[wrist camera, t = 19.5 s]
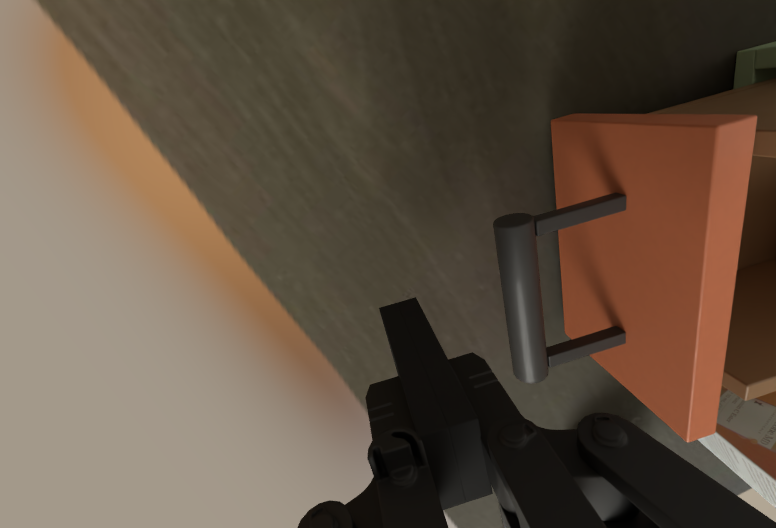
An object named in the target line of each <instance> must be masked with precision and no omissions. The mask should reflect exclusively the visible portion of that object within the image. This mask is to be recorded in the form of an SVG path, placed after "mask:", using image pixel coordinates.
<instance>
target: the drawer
mask: <svg viewBox="0 0 776 528" xmlns="http://www.w3.org/2000/svg"><path fill="white" fill-rule="evenodd" d="M551 134H552V149H553V164H554V179H555V193H556V208H557V210H553V211H550V212H547V213H543V214H540V215H536V216H532V215H530V214H525V213H515V214H508V215H505V216H502V217H499V218H497V219H496V220H495V221H494V223H493V227H494V234H495V241H496V249H497V256H498V263H499V270H500V278H501V285H502V292H503V299H504V307H505V314H506V321H507V328H508V336H509V343H510V350H511V357H512V365H513V372H514V375H515V376H516V378H517V379H519V380H520V381H522V382H525V383H538V382H541V381H543V380H544V379H545V378H546V377H547V375H548V366H549V367H550V368H551V367H554V366H557V365H560V364H563V363H566V362H569V361H572V360H576V359H579V358H582V357H585V356H588V355H590V356H591V357H592V358H593V359H594V360H595V361H597V362H598V363H599V364H600V365H601V366H602V367H603V368H604V369H606V370H607V371H608V372H609V373H610V374H611V375H612V376H613V377H614V378H616V379H617V380H618V381H619V382H620V383H621V384H622V385H623V386H625V387H626V388H627V389H628V390H629V391H630V392H631V393H632V394H633V395H635V396H636V397H637V398H638V399H639V400H640V401H641V402H642V403H644V404H645V405H646V406H647V407H648V408H649V409H650V410H651V411H652V412H654V413H655V414H656V415H657V416H658V417H659V418H660V419H661V420H663V421H664V422H665V423H666V424H667V425H668V426H669V427H670V428H671V429H673V430H674V431H675V432H676V433H677V434H678V435H679V436H680V437H682V438H683V439H684V440H685V441H686V442H691V441H694V440H697V439H700V438H703V437H706V436H709V435H712V434H714V433H715V431H716V424H717V416H718V409H719V401H720V394H721V386H724V387H725V388H727V389H728V390H730V391H731V392H733V393H734V394H736V395H737V396H739V397H740V398H742V399H743V400H745V401H748V400H751V399H754V398H757V397H760V396H762V395H765V394H768V393H771V392H774V391H776V78H772V79H769V80H765V81H762V82H758V83H754V84H751V85H747V86H744V87H740V88H737V89H733V90H729V91H726V92H722V93H719V94H715V95H712V96H708V97H704V98H701V99H697V100H694V101H690V102H687V103H683V104H679V105H676V106H672V107H669V108H665V109H662V110H658V111H654V112H651V113H647V114H571V115H567V116H563V117H560V118H556V119H552V120H551ZM557 230H558V237H559V252H560V267H561V281H562V296H563V311H564V326H565V334H566V335H568V336H569V337H570V338H571V339H572V340H569V341H566V342H563V343H559V344H556V345H553V346H550V347H547V348H546V341H545V330H544V320H543V309H542V298H541V287H540V277H539V266H538V255H537V244H536V236H540V235H544V234H547V233H551V232H554V231H557Z"/></svg>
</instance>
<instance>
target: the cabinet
mask: <svg viewBox="0 0 776 528" xmlns="http://www.w3.org/2000/svg"><path fill="white" fill-rule="evenodd" d="M772 78H776V41H775V42H771V43H767V44H764V45H760V46H756V47H753V48H749V49H745V50H742V51H738V52H737V58H736V67H735V76H734V86H733V89H737V88H740V87H744V86H747V85H751V84H754V83H758V82H762V81H765V80H769V79H772Z"/></svg>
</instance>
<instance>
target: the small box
mask: <svg viewBox="0 0 776 528" xmlns="http://www.w3.org/2000/svg"><path fill="white" fill-rule="evenodd" d="M698 440H699V441H700V442H701V443H702V444H703V445H704V446H705V447H707V448H708V449H709V450H710V451H711V452H712V453H713V454H715V455H716V456H717V457H718V458H719V459H720V460H721V461H722V462H724V463H725V464H726V465H727V466H728V467H729V468H730V469H732V470H733V471H734V472H735V473H736V474H737V475H738V476H739V477H741V478H742V479H743V480H744V481H745V482H746V483H747V484H749V485H750V486H751V487H752V488H753V489H754V490H755V491H756V492H758V493H759V494H760V495H761V496H762V497H763V498H765V499H766V500H767V501H768V502H769V503H770V504H771V505H773V506H774V507H775V508H776V391H774V392H771V393H768V394H765V395H762V396H760V397H757V398H754V399H751V400H748V401H745V400H743V399H742V398H740V397H739V396H737V395H736V394H734V393H733V392H731V391H730V390H728V389H727V388H725V387H724V386H721V394H720V401H719V409H718V416H717V424H716V431H715V433H714V434H712V435H709V436H706V437H703V438H700V439H698Z"/></svg>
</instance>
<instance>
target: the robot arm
mask: <svg viewBox="0 0 776 528" xmlns="http://www.w3.org/2000/svg"><path fill="white" fill-rule="evenodd" d="M379 309H380V313H381V316H382V320H383V324H384V327H385V331H386V334H387V338H388V341H389V345H390V348H391V352H392V355H393V359H394V362H395V366H396V369H397V372H398V376H397V377H394V378H391V379H388V380H384V381H381V382H378V383H375V384H371V385H370V387H369V389H368V392H367V395H366V403H367V409H368V415H369V421H370V427H371V434H372V440H373V441H372V443H371V445H370V447H369V449H368V460H369V464H370V466H371V469H372V472H373V475H374V478H373V479H372V481H371V483H370V484H369V486H368V487H367V488H366V489H365V490H364V491H363V492H362V493H361V494H360V495H358V496H357V497H356V498H354V499H353V500H351V501H350V502H348V503H347V504H346V505H344V504H342V503H341V502H338V501H326V502H323V503H320V504H318V505H316V506H315V507H313V508H312V509H310V510H309V511H308V512H307V514H306V515H305V516H304V517H303V518H302V519H301V521H300V523H299V526H298V528H448V525H447V522H446V519H445V515H444V512H443V510H445V509H448V508H451V507H454V506H457V505H460V504H463V503H466V502H469V501H472V500H475V499H478V498H481V497H484V496H487V495H490V494H493V493H492V488H491V485H492V487H493V489H494V491H495V494H496V496H497V498H498V501H499V507H500V512H501V518H502V523H503V528H776V522H774V521H773V520H771V519H769V518H768V517H767V516H765V515H764V514H763V513H761V512H760V511H758V510H757V509H755V508H754V507H752V506H751V505H749V504H748V503H747V502H745V501H744V500H742V499H741V498H739V497H738V496H736V495H735V494H734V493H732V492H731V491H729V490H728V489H726V488H725V487H723V486H722V485H721V484H719V483H718V482H716V481H715V480H713V479H712V478H710V477H709V476H708V475H706V474H705V473H703V472H702V471H700V470H699V469H697V468H696V467H694V466H693V465H692V464H690V463H689V462H687V461H686V460H684V459H683V458H681V457H680V456H679V455H677V454H676V453H674V452H673V451H671V450H670V449H668V448H667V447H665V446H664V445H663V444H661V443H660V442H658V441H657V440H655V439H654V438H652V437H651V436H650V435H648V434H647V433H645V432H644V431H642V430H641V429H639V428H638V427H636V426H635V425H634V424H632V423H631V422H629V421H627V420H625V419H623V418H621V417H619V416H617V415H613V414H608V413H594V414H591V415H588V416H586V417H584V418H583V419H582V420H581V421H580V422H579V424H578V428H577V430H549V429H544V428H540V427H538V426H536V425H535V424H534V423H533V422H531V421H529V420H527V419H525V418H524V417H523V416H522V415H521V414H520V412H519V411H518V409H517V408H516V406H515V405H514V403H513V402H512V400H511V399H510V397H509V396H508V394H507V393H506V391H505V390H504V388H503V387H502V385H501V384H500V382H498V379H497V378H496V376H495V375H494V373H492V370H491V369H490V367H489V366H488V364H487V363H486V361H485V360H484V359H482V358H481V357H479V356H478V355H476V354H474V353H473V352H472V353H469V354H466V355H462V356H459V357H456V358H453V359H449V360H448V359H447V357H446V355H445V353H444V351H443V349H442V347H441V345H440V343H439V341H438V340H437V338H436V336H435V334H434V332H433V330H432V328H431V326H430V324H429V322H428V320H427V318H426V316H425V314H424V313H423V311H422V309H421V307H420V305H419V303H418V301H417V299H416V297H415V298H412V299H408V300H405V301H402V302H398V303H395V304H391V305H388V306H385V307H381V308H379Z"/></svg>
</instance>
